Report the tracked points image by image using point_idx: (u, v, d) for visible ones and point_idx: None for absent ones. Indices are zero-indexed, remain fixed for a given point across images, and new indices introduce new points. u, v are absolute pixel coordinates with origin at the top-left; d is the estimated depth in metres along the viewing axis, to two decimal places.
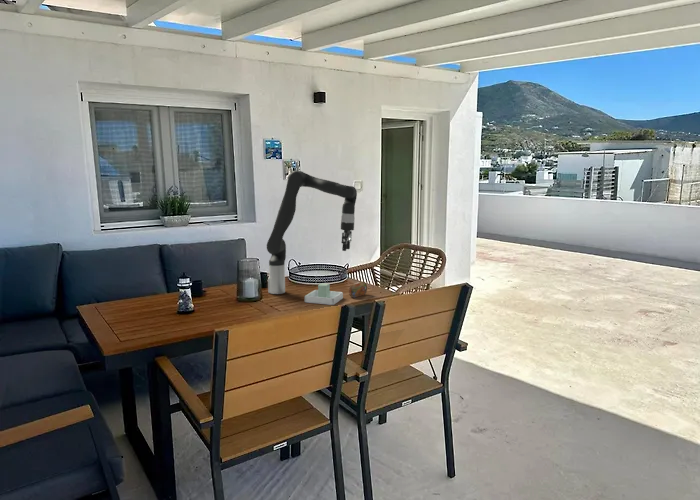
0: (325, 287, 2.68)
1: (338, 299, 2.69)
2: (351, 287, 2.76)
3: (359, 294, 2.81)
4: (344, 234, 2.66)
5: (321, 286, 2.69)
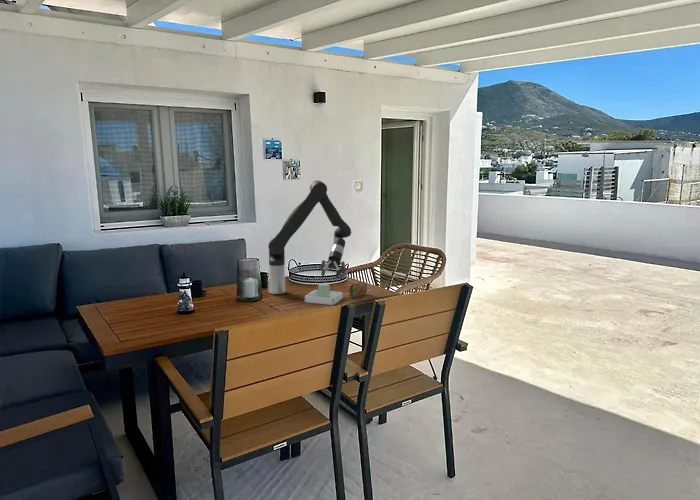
0: (325, 287, 2.68)
1: (338, 299, 2.69)
2: (351, 287, 2.76)
3: (359, 294, 2.81)
4: (344, 263, 2.81)
5: (321, 286, 2.69)
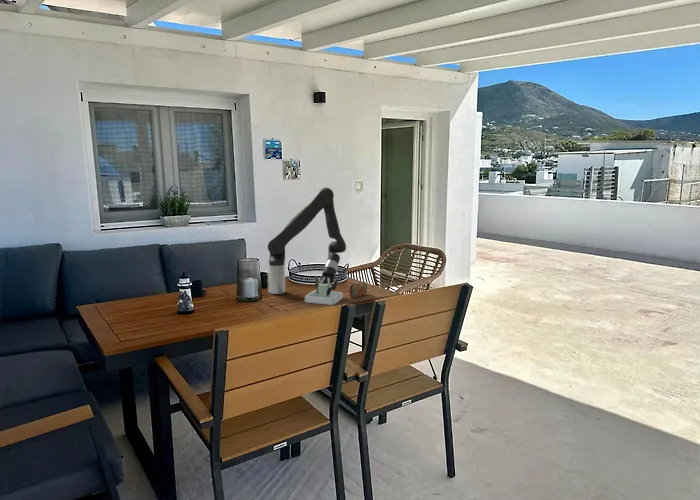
0: (325, 287, 2.68)
1: (338, 299, 2.69)
2: (351, 287, 2.76)
3: (359, 294, 2.81)
4: (337, 282, 2.73)
5: (321, 286, 2.69)
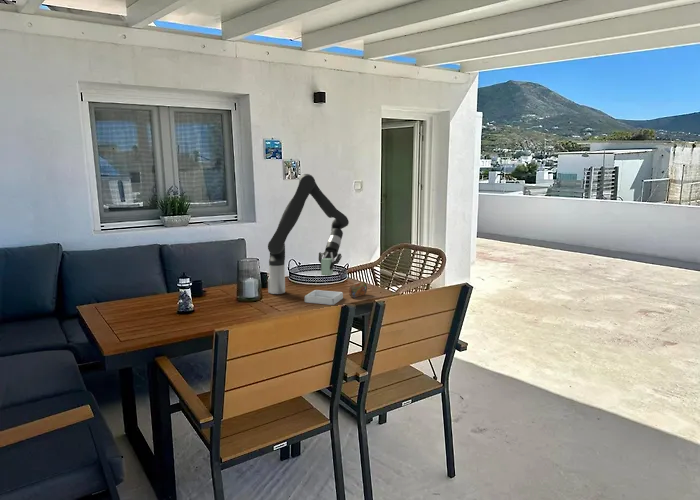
0: (328, 261, 2.69)
1: (338, 299, 2.69)
2: (351, 287, 2.76)
3: (359, 294, 2.81)
4: (340, 256, 2.74)
5: (324, 260, 2.70)
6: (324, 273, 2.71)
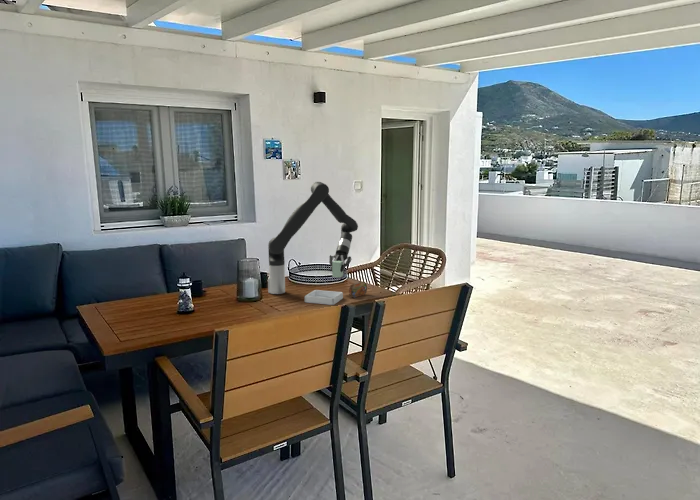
0: (339, 264, 2.81)
1: (338, 299, 2.69)
2: (351, 287, 2.76)
3: (359, 294, 2.81)
4: (350, 259, 2.86)
5: (335, 263, 2.82)
6: (335, 275, 2.83)
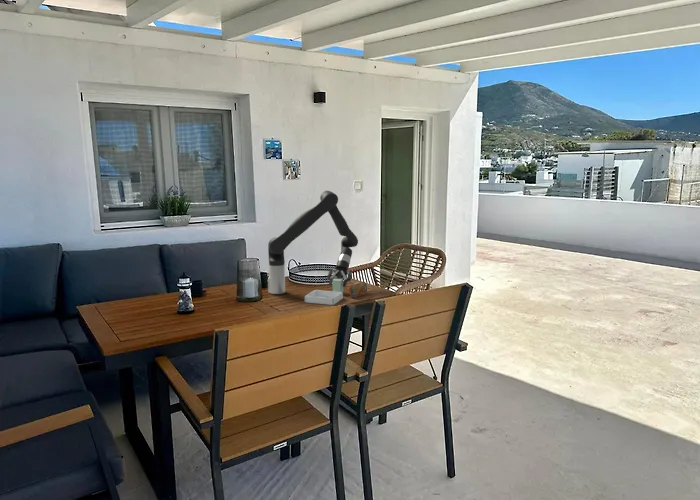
0: (339, 282, 2.83)
1: (338, 299, 2.69)
2: (351, 287, 2.76)
3: (359, 294, 2.81)
4: (351, 273, 2.88)
5: (335, 281, 2.84)
6: None
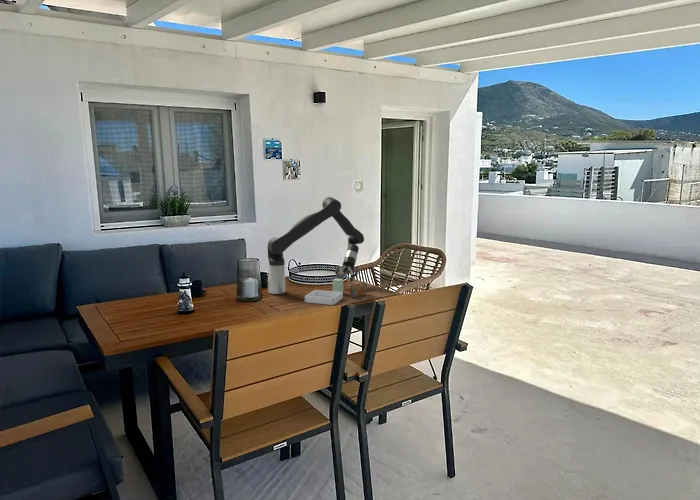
0: (339, 282, 2.83)
1: (338, 299, 2.69)
2: (351, 287, 2.76)
3: (359, 294, 2.81)
4: None
5: (335, 281, 2.84)
6: None
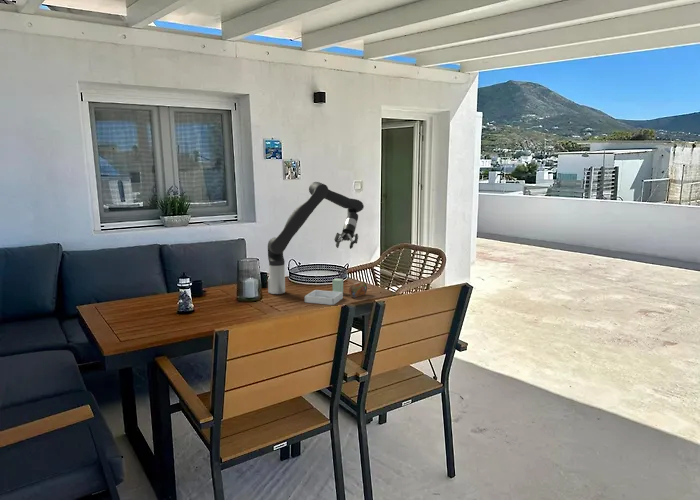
0: (339, 282, 2.83)
1: (338, 299, 2.69)
2: (351, 287, 2.76)
3: (359, 294, 2.81)
4: (357, 236, 2.96)
5: (335, 281, 2.84)
6: None
